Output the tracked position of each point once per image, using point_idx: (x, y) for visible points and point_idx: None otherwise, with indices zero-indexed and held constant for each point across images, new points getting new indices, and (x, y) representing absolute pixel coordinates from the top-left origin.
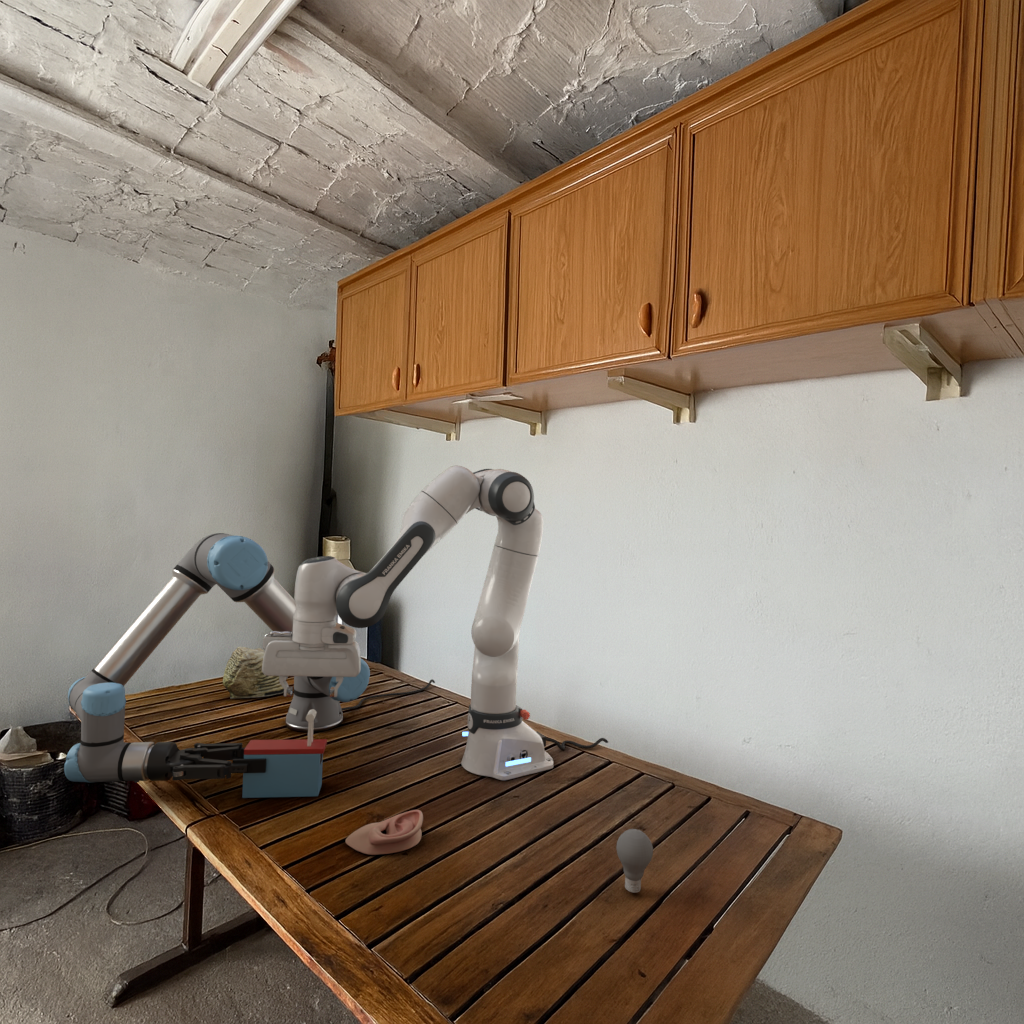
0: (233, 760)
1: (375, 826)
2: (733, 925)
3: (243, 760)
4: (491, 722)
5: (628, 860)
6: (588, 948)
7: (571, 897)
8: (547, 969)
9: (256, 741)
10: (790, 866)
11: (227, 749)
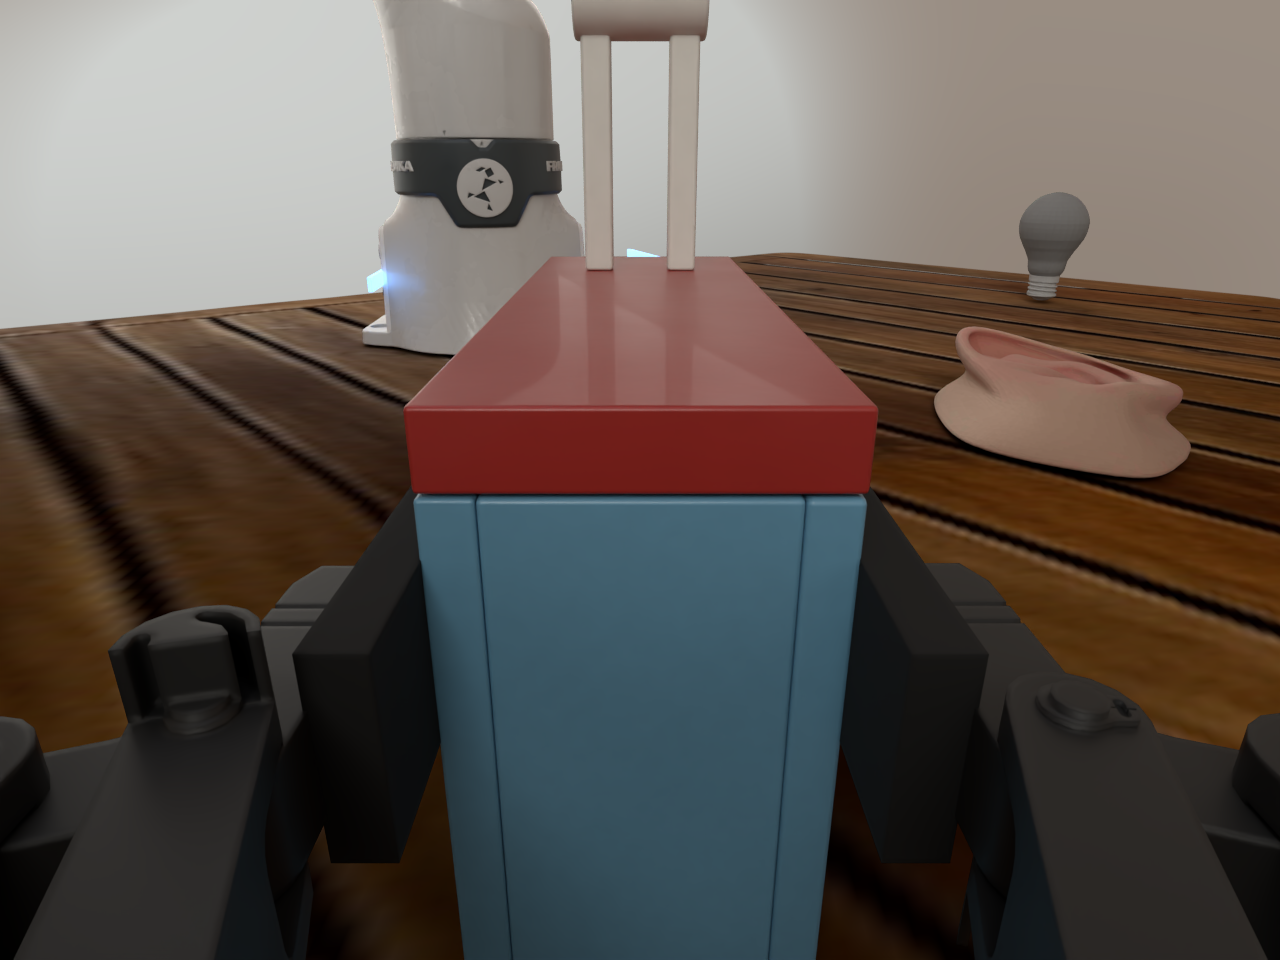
0: (981, 646)
1: (1093, 385)
2: (1069, 283)
3: (916, 559)
4: (559, 167)
5: (1086, 233)
6: (1242, 322)
7: (1104, 321)
8: None
9: (505, 376)
10: (894, 264)
11: (218, 912)
